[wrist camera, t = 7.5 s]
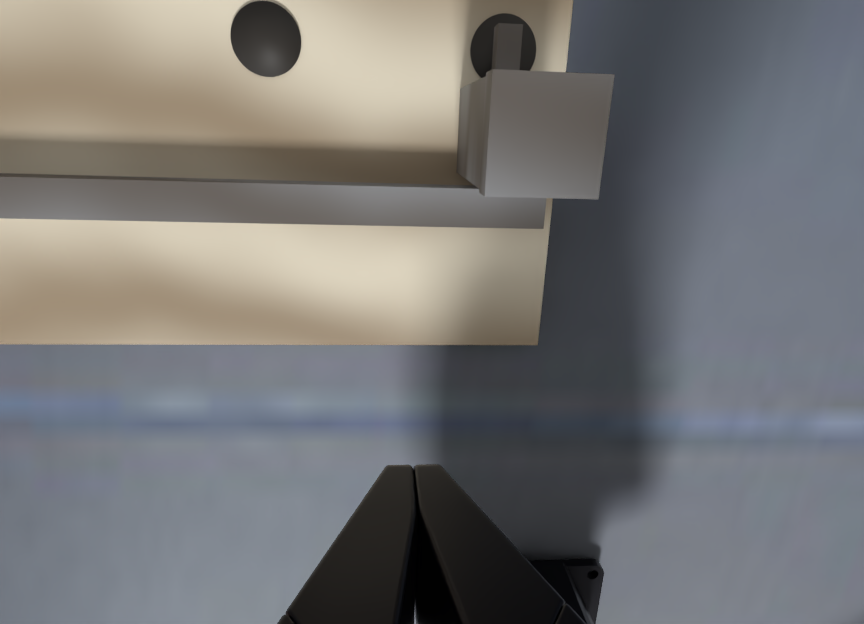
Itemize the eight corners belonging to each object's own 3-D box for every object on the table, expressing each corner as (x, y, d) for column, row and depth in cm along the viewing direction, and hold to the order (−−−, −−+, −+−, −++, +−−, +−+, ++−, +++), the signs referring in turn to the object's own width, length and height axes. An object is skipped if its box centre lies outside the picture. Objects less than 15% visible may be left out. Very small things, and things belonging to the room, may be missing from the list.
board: (529, 333, 21) (594, 429, 14) (-182, 330, 19) (-488, 441, 12) (571, -103, 16) (695, -255, 10) (-358, -169, 14) (-990, -415, 8)
